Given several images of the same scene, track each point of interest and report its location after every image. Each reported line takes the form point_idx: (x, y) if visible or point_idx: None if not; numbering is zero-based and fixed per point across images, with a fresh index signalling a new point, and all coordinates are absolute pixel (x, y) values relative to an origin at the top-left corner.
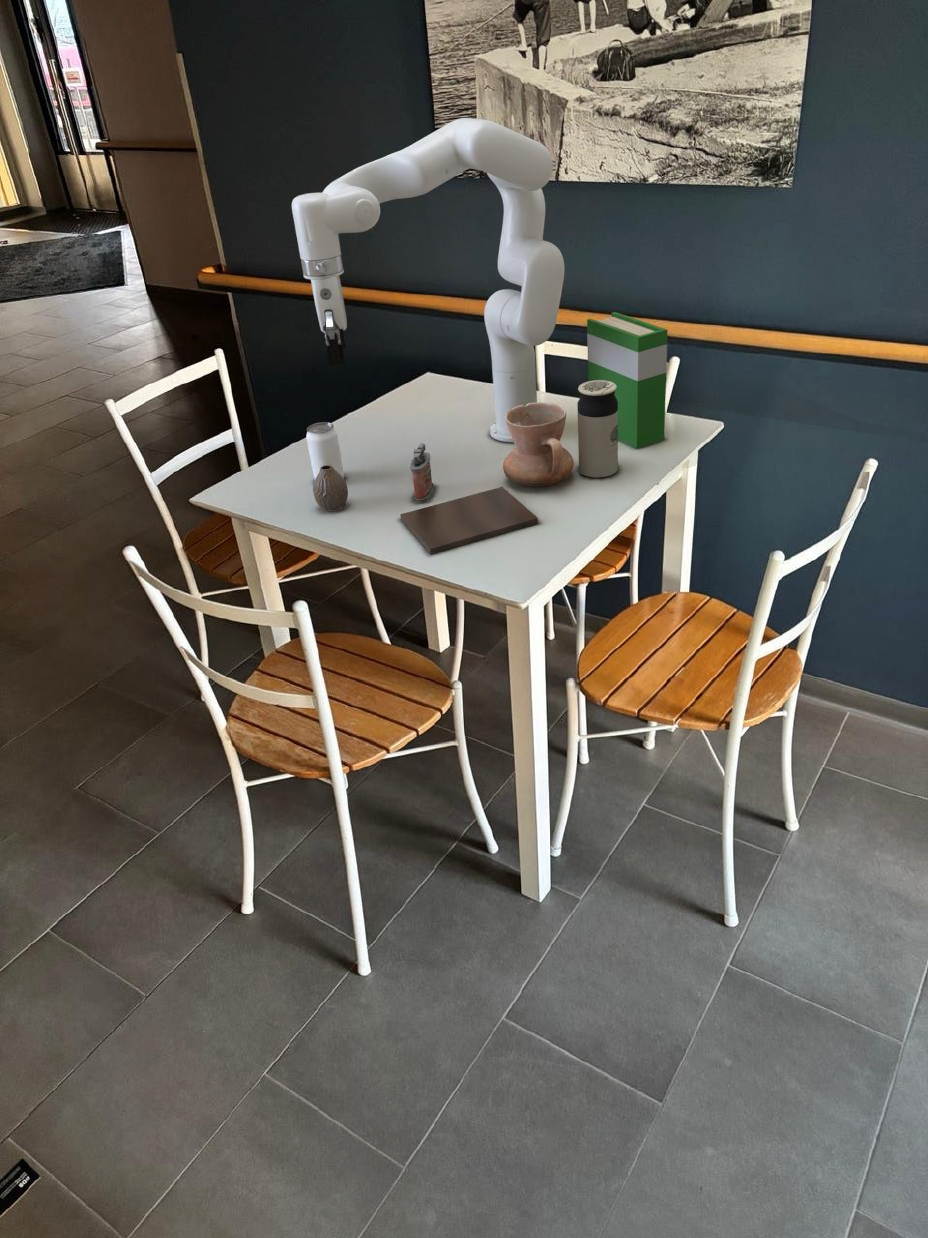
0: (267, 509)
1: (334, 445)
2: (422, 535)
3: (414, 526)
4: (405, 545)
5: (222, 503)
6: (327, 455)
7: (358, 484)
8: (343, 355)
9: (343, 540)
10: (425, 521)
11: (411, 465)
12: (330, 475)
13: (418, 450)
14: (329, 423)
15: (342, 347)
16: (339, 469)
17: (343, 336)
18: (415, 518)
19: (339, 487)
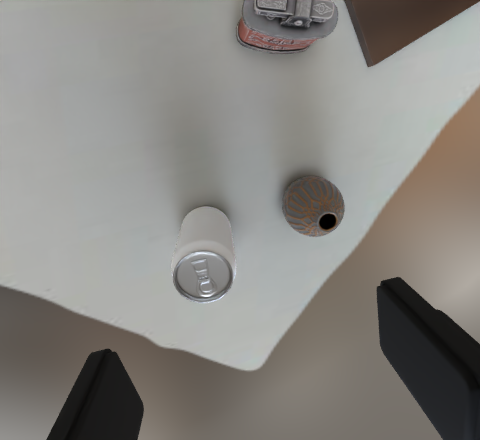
0: (298, 287)
1: (218, 234)
2: (463, 3)
3: (425, 27)
4: (459, 41)
5: (274, 346)
6: (231, 240)
7: (224, 176)
8: (428, 308)
9: (415, 153)
10: (412, 5)
11: (316, 34)
12: (338, 208)
13: (308, 3)
14: (178, 264)
15: (477, 350)
16: (216, 214)
17: (77, 415)
18: (396, 30)
19: (335, 188)
